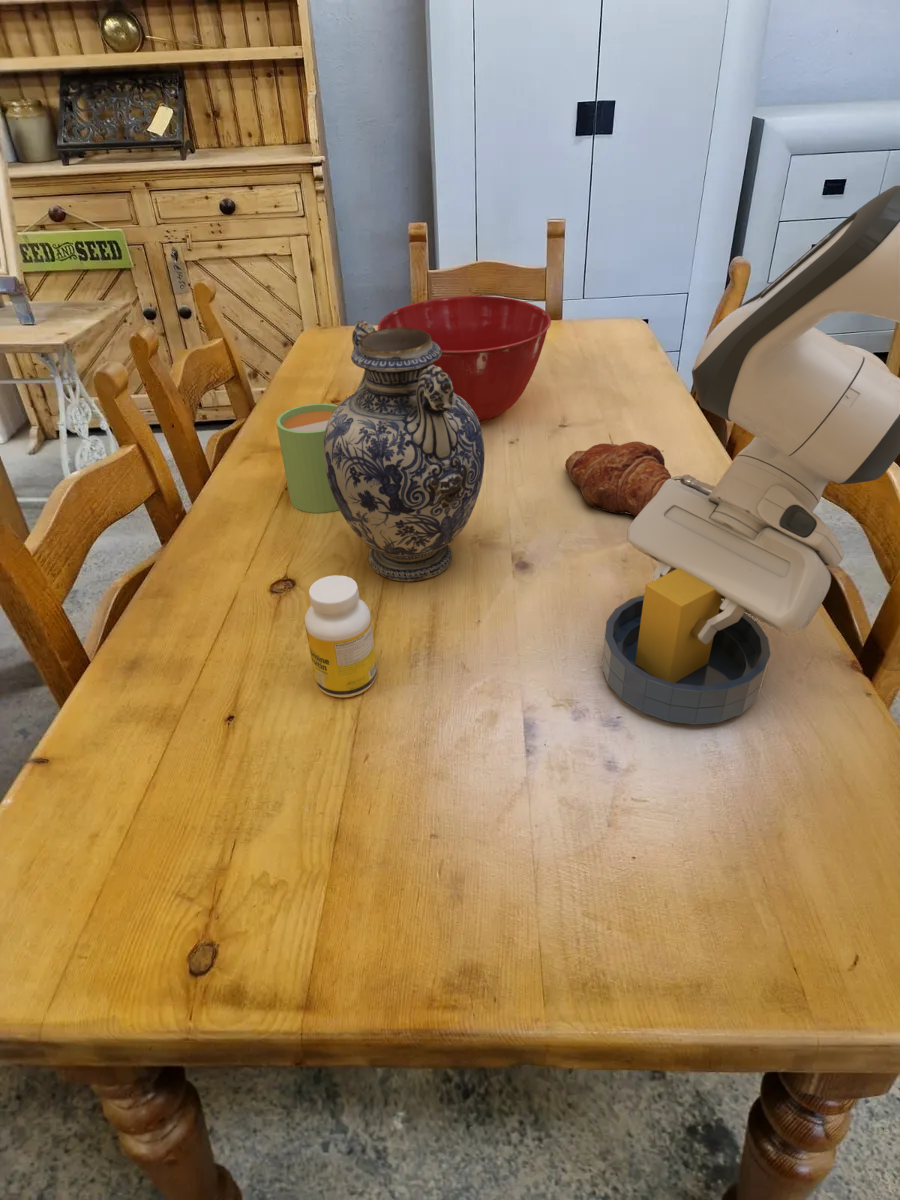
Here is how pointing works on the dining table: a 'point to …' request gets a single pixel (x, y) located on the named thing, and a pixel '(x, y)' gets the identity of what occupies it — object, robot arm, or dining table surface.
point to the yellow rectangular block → (675, 625)
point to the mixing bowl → (480, 345)
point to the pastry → (618, 475)
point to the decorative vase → (404, 454)
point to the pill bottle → (340, 637)
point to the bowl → (703, 692)
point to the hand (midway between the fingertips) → (674, 624)
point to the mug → (306, 456)
